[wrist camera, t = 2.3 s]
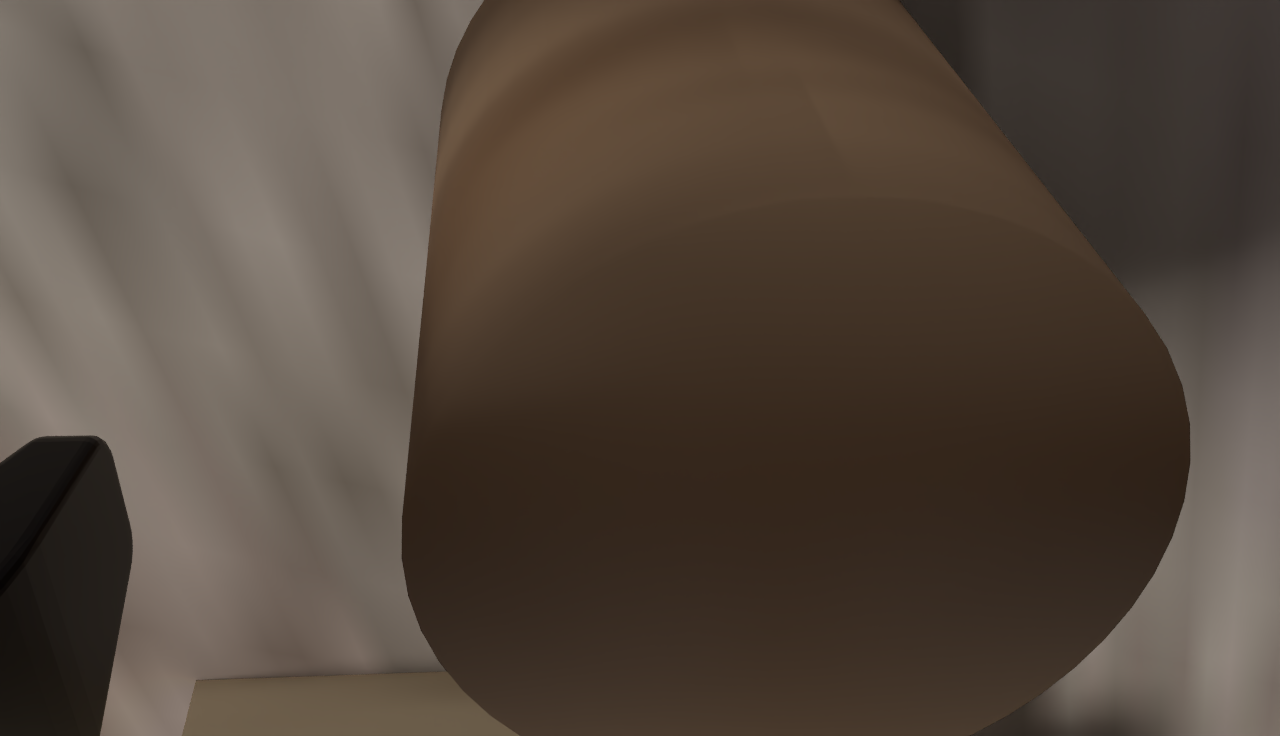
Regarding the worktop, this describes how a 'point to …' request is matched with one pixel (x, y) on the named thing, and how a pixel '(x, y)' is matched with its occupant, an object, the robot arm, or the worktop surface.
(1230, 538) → the worktop surface
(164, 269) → the worktop surface
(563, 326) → the brown rounded cylinder
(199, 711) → the maple block
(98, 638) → the robot arm
